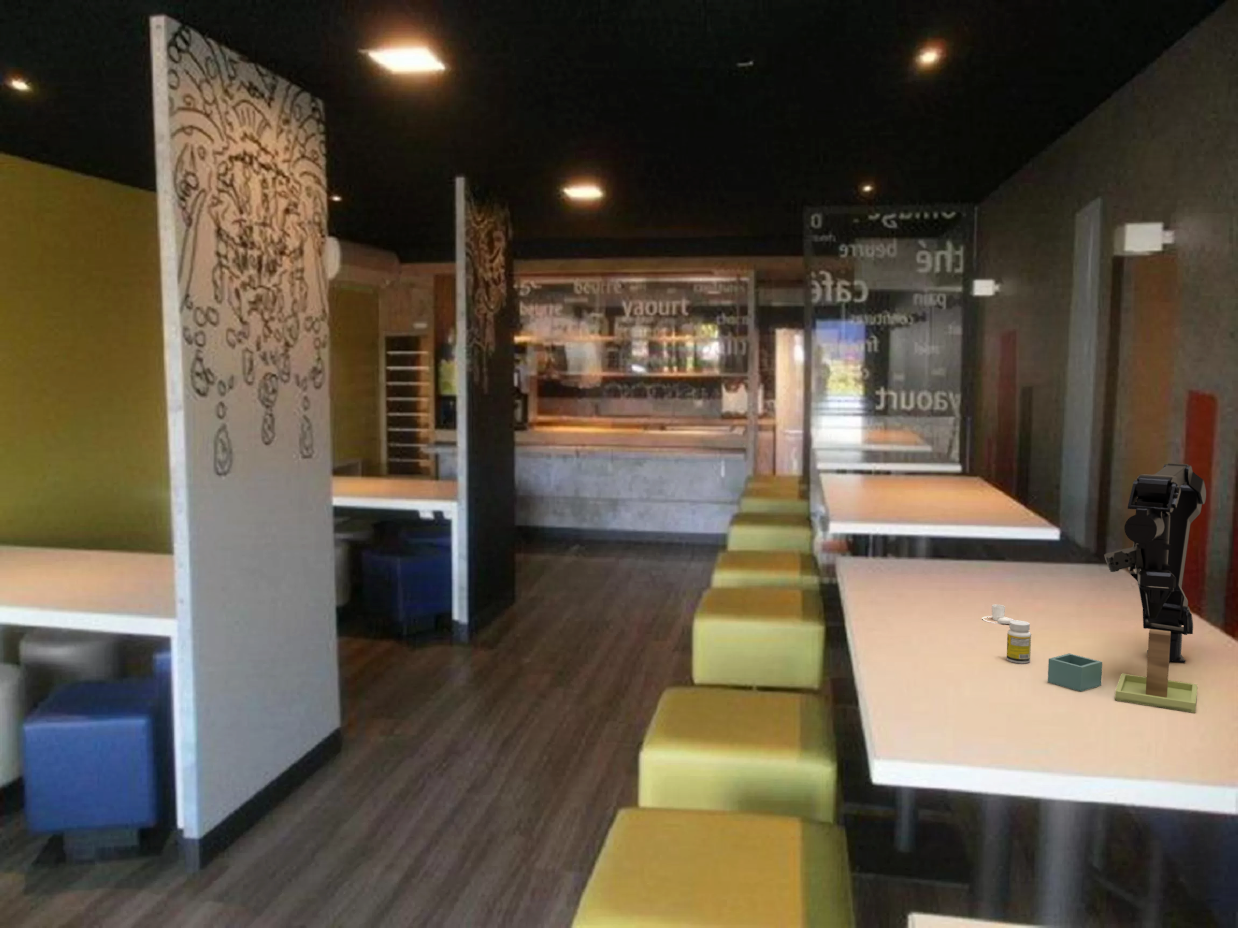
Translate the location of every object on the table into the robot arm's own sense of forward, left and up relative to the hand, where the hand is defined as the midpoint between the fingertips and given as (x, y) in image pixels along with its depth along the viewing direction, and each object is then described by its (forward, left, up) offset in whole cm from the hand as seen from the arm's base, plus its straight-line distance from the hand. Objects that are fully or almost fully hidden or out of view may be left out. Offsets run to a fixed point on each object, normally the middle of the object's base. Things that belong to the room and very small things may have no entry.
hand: (1148, 613), depth 197 cm
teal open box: (+11, -14, -13) cm, 22 cm away
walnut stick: (+14, 0, -12) cm, 19 cm away
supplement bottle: (-2, -24, -13) cm, 27 cm away
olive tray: (+14, 0, -13) cm, 19 cm away
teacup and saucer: (-36, -29, -14) cm, 48 cm away
